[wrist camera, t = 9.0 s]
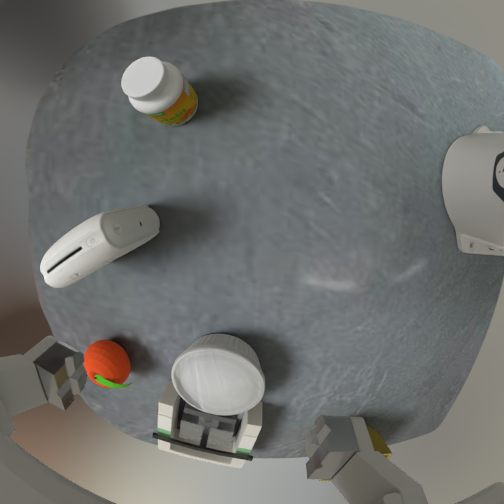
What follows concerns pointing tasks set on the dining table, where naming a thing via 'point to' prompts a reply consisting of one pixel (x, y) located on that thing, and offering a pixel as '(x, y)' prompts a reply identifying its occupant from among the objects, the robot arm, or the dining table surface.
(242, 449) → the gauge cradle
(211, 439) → the grey metal pieces
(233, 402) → the ramekin
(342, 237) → the dining table surface
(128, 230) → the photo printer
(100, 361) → the red tomato
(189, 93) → the supplement bottle
